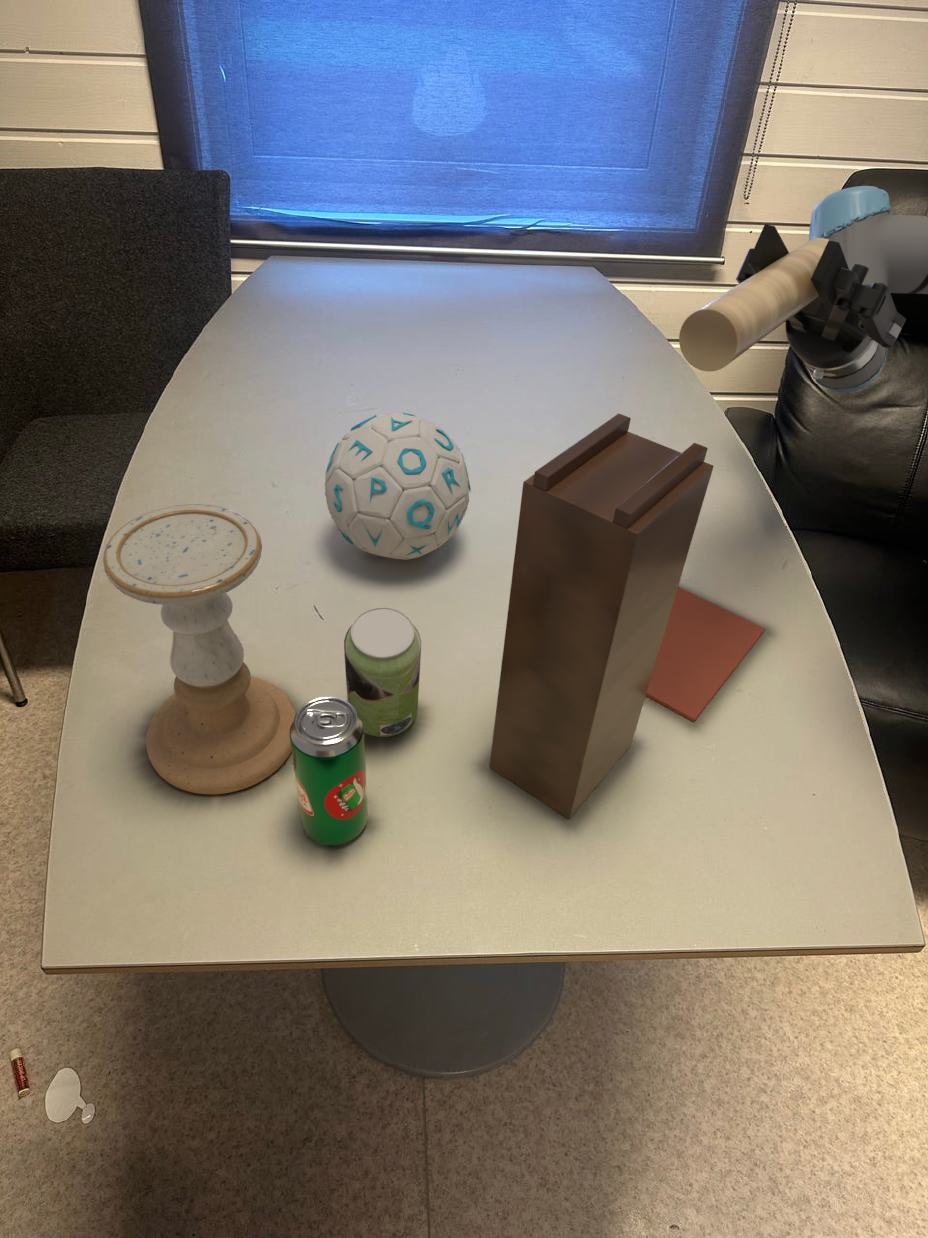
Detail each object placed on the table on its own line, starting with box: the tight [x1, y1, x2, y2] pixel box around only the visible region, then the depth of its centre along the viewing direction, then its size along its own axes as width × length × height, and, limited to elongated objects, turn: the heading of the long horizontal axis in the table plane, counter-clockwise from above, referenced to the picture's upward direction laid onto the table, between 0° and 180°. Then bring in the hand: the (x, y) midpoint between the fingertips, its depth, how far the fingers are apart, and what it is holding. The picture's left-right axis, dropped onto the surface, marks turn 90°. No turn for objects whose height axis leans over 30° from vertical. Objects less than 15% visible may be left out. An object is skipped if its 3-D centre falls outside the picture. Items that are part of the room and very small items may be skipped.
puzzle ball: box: [324, 412, 472, 561], centre depth 86 cm, size 15×15×15 cm
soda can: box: [290, 696, 369, 846], centre depth 60 cm, size 5×5×12 cm
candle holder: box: [102, 503, 297, 795], centre depth 63 cm, size 12×12×20 cm
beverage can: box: [343, 606, 422, 738], centre depth 68 cm, size 6×7×12 cm
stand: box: [489, 413, 714, 820], centre depth 60 cm, size 8×10×29 cm
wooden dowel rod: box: [678, 238, 829, 372], centre depth 59 cm, size 20×4×4 cm, turn 142°
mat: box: [646, 586, 766, 723], centre depth 81 cm, size 12×16×1 cm
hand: (792, 252), depth 59 cm, fingers closed on wooden dowel rod, 4 cm apart
